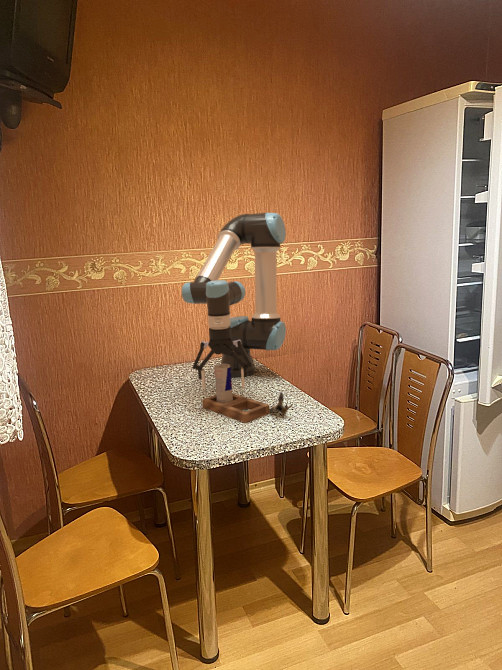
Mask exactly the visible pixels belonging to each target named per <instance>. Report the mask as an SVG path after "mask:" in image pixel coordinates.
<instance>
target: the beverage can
mask: <svg viewBox="0 0 502 670" xmlns="http://www.w3.org/2000/svg"><path fill="white" fill-rule="evenodd" d="M232 378H233V377H231V367H230V365H229V364H221V363H218V364H215V365H214V380H215V382H214V383H215V393H216V394H215V395H216V397H217V402H219V403H222V404H225V403H228V402H231V401H233V394H234V393H233V382H232V381H233V380H232ZM232 393H233V394H232Z"/></svg>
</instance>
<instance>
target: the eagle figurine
mask: <svg viewBox="0 0 502 670" xmlns="http://www.w3.org/2000/svg"><path fill="white" fill-rule="evenodd" d="M277 400H278V402H277V404H275V405H273V406H272V407H270V412H274V411H276V410H277V411H279V413H281V414H282V415H281V416H282V418H284V417H285V415H286V413H287V411H288V410H289V409H290V408H292V407H293V406H294V403H292V404H291V405H289V406H288V404H287V403H285V404H284V405H285V407H284V405H283V403H284V393H283V392H280V393H279V396H278V399H277Z"/></svg>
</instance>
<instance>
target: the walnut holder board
mask: <svg viewBox="0 0 502 670" xmlns="http://www.w3.org/2000/svg"><path fill="white" fill-rule="evenodd" d="M232 394H233V401H231V402H228V403H225V404H222V403H219V402H217V397H216V394H214V395H212V396H208V397H205V398H203V399H202V401H201V403H202V408H203V409H204V410H209V411H211V412H213V413H216V414H219V415H222V416H224V417H227V418H229V419H234V420H235V421H239V422H241V423H244V424H247V423H249V422H252V421H255V420H257V419H260V418H262V417H264V416H267V415H270V414H271V411H270V408H271V407H270V404H268V403H264V402H260V401H259V400H255V399H251V398H249V397H245V396H242V395H240V394H236V393H233V392H232ZM245 410H246V411H245Z"/></svg>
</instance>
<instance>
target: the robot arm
mask: <svg viewBox="0 0 502 670" xmlns="http://www.w3.org/2000/svg"><path fill="white" fill-rule="evenodd" d="M286 234H287V233H286V226H285V222H284V220H283V217H282V216H281V215H280V214H279V213H276V212H259V213H243V214H238V215H237V216H235V217H233V218H231V219H230V220H229V221H227V223H226V224H225V225H223V226H222V228H221V229H220V231H219V233H218V234H217V237H216V238H217V241H216V243H215V244H214V246H213V248H212V249H211V251H210V252H209V255H208V256H207V258H206V260H205V262H204V263H203V265H202V267H201V268H200V270H199V271H198V273H197V274H196V277H195V278H194V279H193V281H190V282H186V283H184V284H183V285H182V287H181V298H182V299H183V301H184V302H185V303H188V304H194V305H196V304H197V305H199V304H201V305H206V307H207V309H206V310H207V324H208V327H209V328H208V337H209V340H208V341H205V340H202V341H201V342H200V344H199V350H198V353H197V355H196V358H195V360H194V362H193V365H192V369H193V370H197V372H198V375H197V377H198V379H199V380H201V385H202V386H201V387H202V390H205V389H206V373H205V372H206V371H205V368H204V367H205V366H206V364H207V363H208V362H209V360H210V359H211V358H212V357H213V355H214V354H215V355H217V356H218V355H222V356H221V360H220V364H229V365H230V367H231V378H241V388H243V389H245V385H246V384H245V383H246V382H245V378H247V377H248V376H250V375H252V374H255V373H256V365H255V363H254V359H253V357H252V354H251V350H259V351H260V350H262V351H263V350H264V351H278V350H280V348H281V347H282V345H284V342H285V339H286V334H287V332H286V331H287V330H286V328H287V326H286V324H285V322H284V321H282V320H281V315H280V314H279V313H278V312H277V310H278V309H277V306H278V305H277V301H278V299H277V295H278V294H277V289H278V287H277V285H278V283H277V273H278V272H277V252H279V250H280V249H281V244H283V243H284V242H285V240H286V236H287V235H286ZM245 244H250V249H251V250H252V251H253V252H254V295H255V296H254V300H255V301H254V303H255V304H254V305H255V306H254V307H255V308H254V309H255V311H254V314H252V316H251V320H250V319H249V317H248V316H247V315H239V316H233V317H231V307H230V306H233V305H235V304H238V303H240V302H241V301H242V300H243V299H244V298H245V296H246V288H245V286H244V285H243V283H242V282H240V281H229V282H228V281H227V280H223V279H220V277H221V276H222V274H223V273H224V270H225V268H226V266H227V265H228V262H230V259H231V257H232V256H233V254H234V252H235V251H236V250H238V249H239V248H240V247H241V245H245ZM207 347H209V348H210V351H208V353H207V355H206V357H204V359H203V360H202V362H200V359H201V357H202V355H203V352H204V349H206V348H207ZM199 362H200V364H199Z"/></svg>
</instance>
